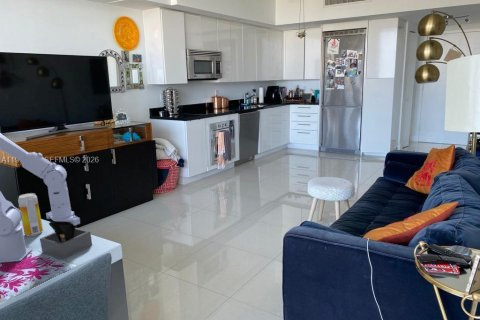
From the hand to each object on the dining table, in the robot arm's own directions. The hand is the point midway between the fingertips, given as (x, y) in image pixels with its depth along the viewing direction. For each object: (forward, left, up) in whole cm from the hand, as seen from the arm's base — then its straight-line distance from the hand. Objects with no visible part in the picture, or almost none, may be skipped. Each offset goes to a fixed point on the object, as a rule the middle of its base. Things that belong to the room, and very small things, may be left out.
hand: (66, 241), depth 123 cm
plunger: (0, 0, -2) cm, 2 cm away
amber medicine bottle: (-18, +15, -3) cm, 23 cm away
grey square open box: (0, 0, -3) cm, 3 cm away
